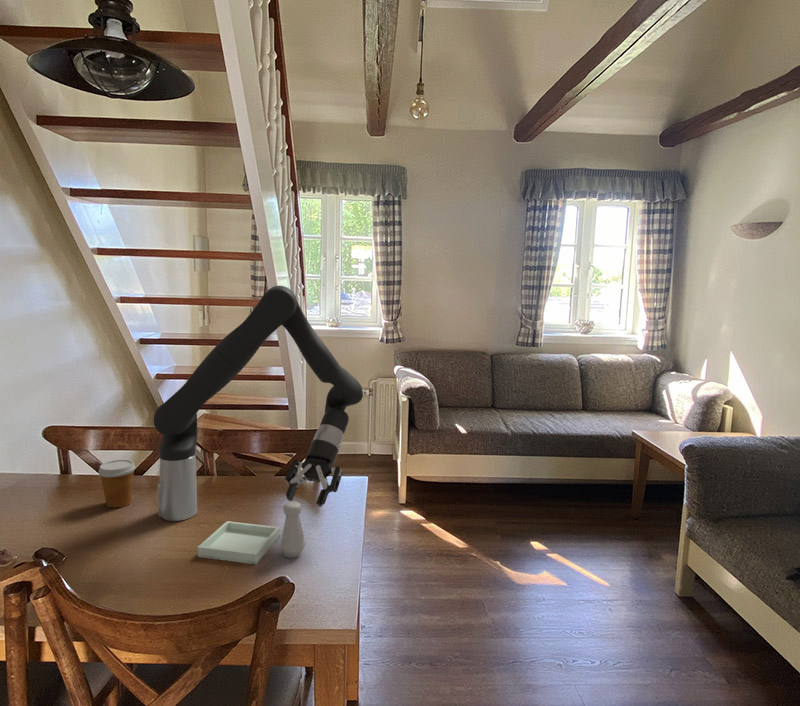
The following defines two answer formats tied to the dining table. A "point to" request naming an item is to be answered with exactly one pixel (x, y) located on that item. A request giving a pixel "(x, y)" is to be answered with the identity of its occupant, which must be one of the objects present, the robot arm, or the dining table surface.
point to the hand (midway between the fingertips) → (303, 502)
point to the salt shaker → (292, 531)
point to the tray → (239, 542)
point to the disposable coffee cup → (117, 482)
